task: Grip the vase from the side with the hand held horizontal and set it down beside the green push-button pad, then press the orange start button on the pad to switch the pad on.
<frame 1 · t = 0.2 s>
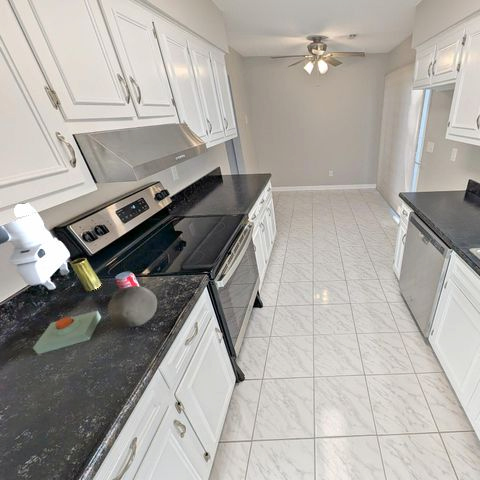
hand: (59, 280, 90), 18 cm above the worktop, tool pointing down, fingers open, 8 cm apart
green push-button pad: (72, 334, 90), on the worktop
vase: (94, 287, 115), on the worktop
soda can: (135, 298, 106), on the worktop
start button: (64, 322, 88), point 5 cm above the worktop, slide at 0.1 cm
cantaloupe: (142, 323, 93), on the worktop
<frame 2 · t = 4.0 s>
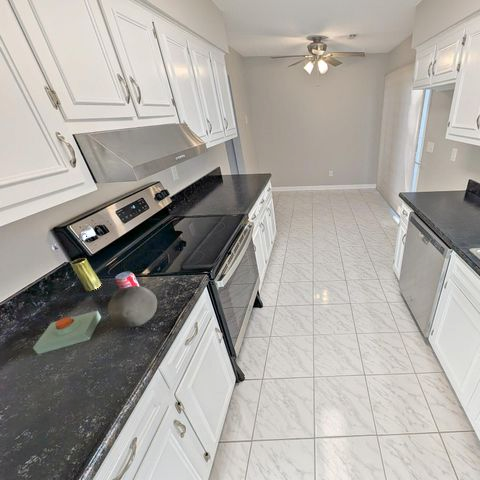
hand: (68, 243, 112), 20 cm above the worktop, tool horizontal, fingers open, 8 cm apart
nothing on the worktop moved.
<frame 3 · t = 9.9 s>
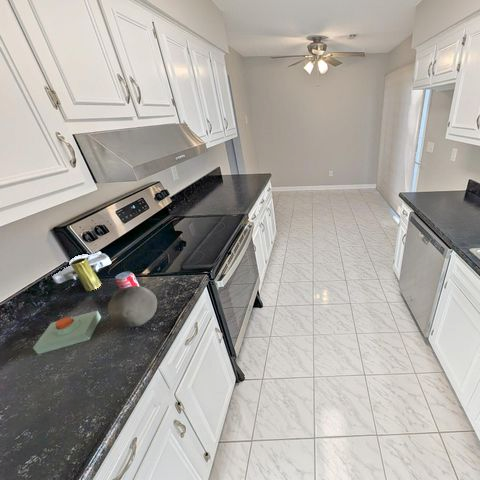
hand: (86, 274, 111), 8 cm above the worktop, tool horizontal, fingers closed on vase, 5 cm apart
vase: (94, 287, 115), on the worktop, touching gripper
everything else where it was.
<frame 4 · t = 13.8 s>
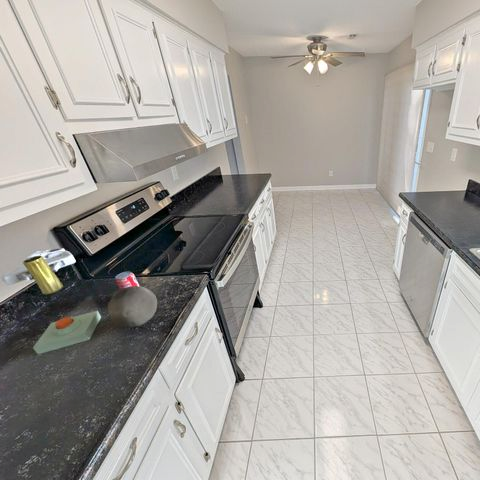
hand: (42, 274, 96), 17 cm above the worktop, tool horizontal, fingers closed on vase, 5 cm apart
vase: (53, 290, 100), point 9 cm above the worktop, touching gripper
everything else where it was.
when the fingers open (8 cm above the worktop, at t = 17.8 s): vase stays where it is, on the worktop.
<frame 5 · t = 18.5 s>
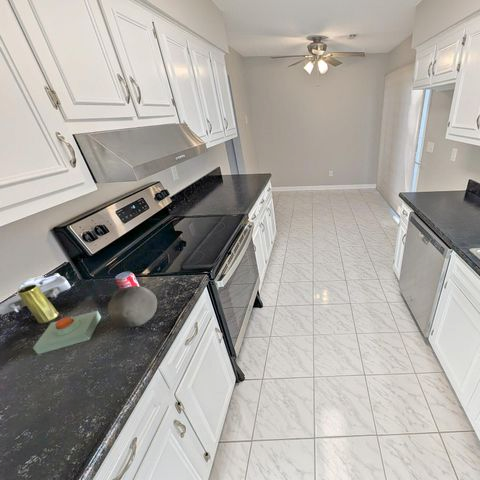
hand: (36, 302, 95), 8 cm above the worktop, tool horizontal, fingers open, 8 cm apart
vase: (49, 318, 99), on the worktop
everything else where it was.
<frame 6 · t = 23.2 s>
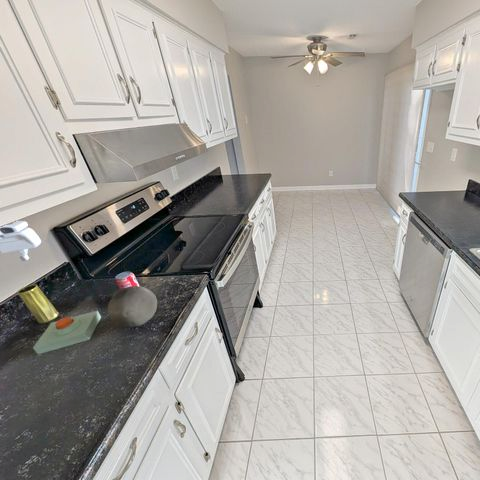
hand: (14, 261, 97), 21 cm above the worktop, tool pointing down, fingers open, 5 cm apart
nothing on the worktop moved.
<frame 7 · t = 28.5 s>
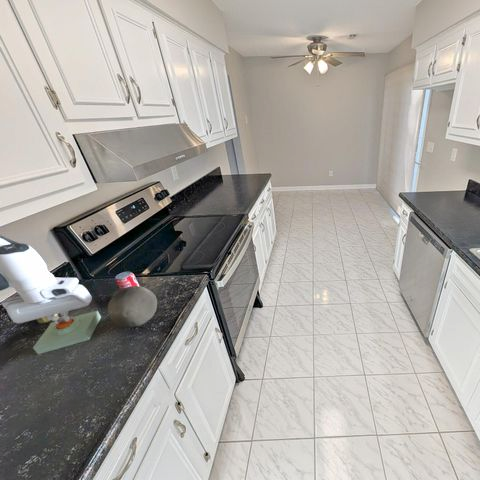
hand: (63, 321, 88), 6 cm above the worktop, tool pointing down, fingers closed, pressing on start button
start button: (64, 323, 88), point 5 cm above the worktop, slide at -0.4 cm, touching gripper
everything else where it was.
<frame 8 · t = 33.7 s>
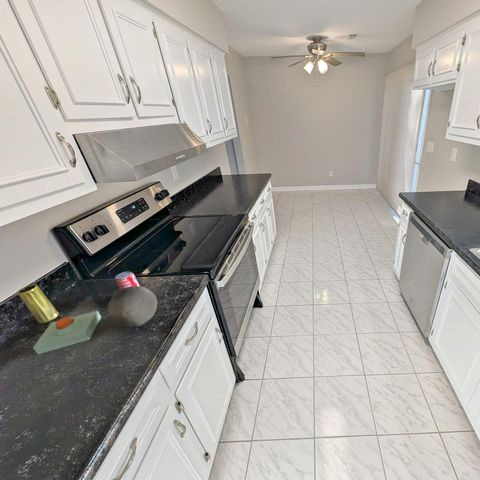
start button: (64, 322, 88), point 5 cm above the worktop, slide at 0.1 cm
everything else where it was.
at the end: vase 0.1 cm from the target spot, on the worktop; start button pushed in 1.0 cm at the most during the clip, back to where it started at the end; start button slide at 0.1 cm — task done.
